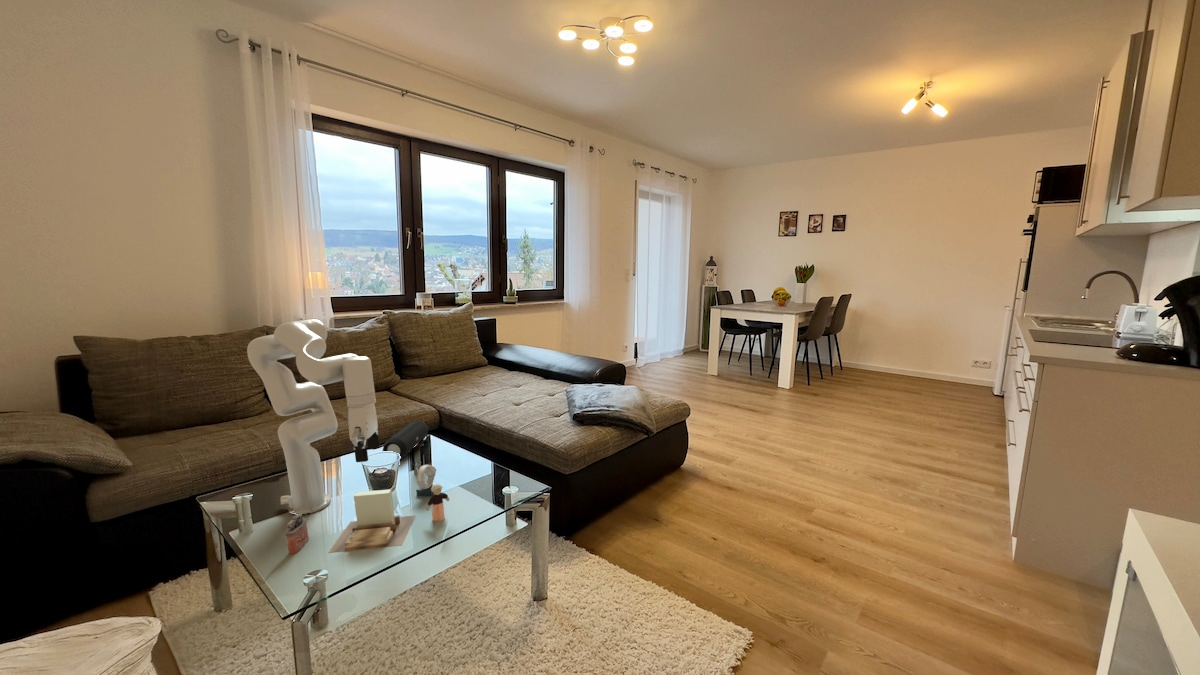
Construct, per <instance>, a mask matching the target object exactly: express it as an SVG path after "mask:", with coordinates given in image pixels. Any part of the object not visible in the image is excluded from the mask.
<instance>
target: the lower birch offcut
mask: <svg viewBox="0 0 1200 675" xmlns="http://www.w3.org/2000/svg"><path fill="white" fill-rule="evenodd" d="M350 536H351V535H350ZM350 536H349V538H348V539H347V540H346V542H345V548H351V547H361V546H370V545H380V544H389V542H390V541H391V539H392V537H393V531H391V532H390V534H389V535H388V537H387V539H378V540H368V541H359V542H350Z"/></svg>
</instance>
